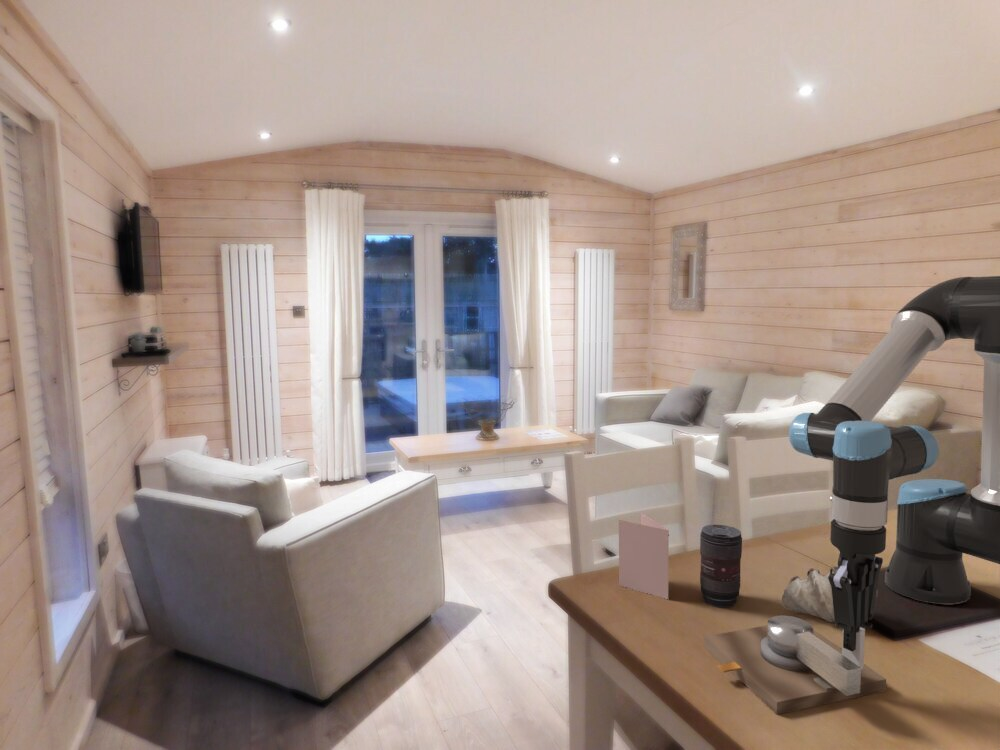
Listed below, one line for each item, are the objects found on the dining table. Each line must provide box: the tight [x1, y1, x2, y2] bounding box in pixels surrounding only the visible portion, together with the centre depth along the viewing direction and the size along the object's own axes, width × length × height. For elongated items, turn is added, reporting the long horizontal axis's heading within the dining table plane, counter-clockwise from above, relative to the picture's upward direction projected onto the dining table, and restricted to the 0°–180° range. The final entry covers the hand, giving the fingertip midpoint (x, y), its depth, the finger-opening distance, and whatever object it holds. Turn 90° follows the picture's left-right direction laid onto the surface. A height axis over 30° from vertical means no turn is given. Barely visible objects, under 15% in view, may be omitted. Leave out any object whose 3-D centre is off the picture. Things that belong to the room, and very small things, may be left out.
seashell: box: [781, 565, 879, 623], centre depth 128 cm, size 10×15×10 cm
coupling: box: [767, 615, 861, 696], centre depth 106 cm, size 18×7×4 cm, turn 15°
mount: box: [703, 624, 887, 715], centre depth 111 cm, size 23×20×4 cm
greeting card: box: [618, 512, 670, 600], centre depth 141 cm, size 11×7×15 cm, turn 17°
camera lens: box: [699, 524, 743, 608], centre depth 136 cm, size 8×8×15 cm
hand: (852, 665), depth 105 cm, fingers closed
